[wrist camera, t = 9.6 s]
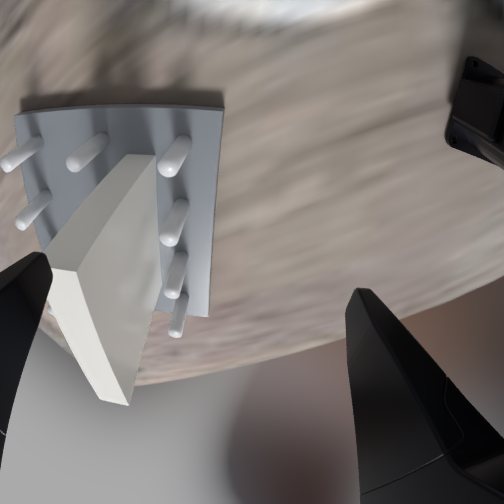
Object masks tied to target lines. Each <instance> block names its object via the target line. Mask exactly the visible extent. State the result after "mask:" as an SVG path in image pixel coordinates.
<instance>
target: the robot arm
mask: <svg viewBox="0 0 504 504" xmlns="http://www.w3.org/2000/svg"><path fill="white" fill-rule="evenodd" d="M473 61H474V66H473V65H472V62H473ZM453 137H454V141H453V142H452V138H453ZM446 143H447V144H448V145H449V146H451V147H453V148H455V149H458V150H461V151H463V152H466V153H468V154H471V155H473V156H476V157H478V158H481V159H483V160H485V161H488V162H490V163H492V164H495V165H497V166H499V167H500V168H502V169H503V170H504V74H503V73H501V72H500V71H498V70H497V69H495V68H494V67H492V66H490V65H489V64H487V63H486V62H484V61H482V60H480V59H479V58H477V57H474V56H468V57H467V59H466V62H465V67H464V71H463V76H462V80H461V82H460V86H459V90H458V94H457V98H456V102H455V105H454V109H453V113H452V118H451V121H450V125H449V128H448V131H447V134H446ZM52 281H53V272H52V269H51V267H50V264H49V261H48V258H47V256H46V254H45V253H42V252H32V253H30V254H29V255H27V256H25V257H24V258H22V259H21V260H19V261H17V262H16V263H14V264H13V265H11V266H9V267H8V268H6V269H5V270H3V271H2V272H0V468H1V461H2V455H3V449H4V443H5V438H6V433H7V428H8V423H9V419H10V415H11V411H12V406H13V403H14V399H15V395H16V392H17V388H18V385H19V381H20V378H21V375H22V371H23V368H24V365H25V362H26V359H27V356H28V353H29V350H30V347H31V344H32V341H33V339H34V336H35V333H36V331H37V328H38V326H39V323H40V320H41V316H42V313H43V310H44V306H45V303H46V300H47V297H48V294H49V290H50V287H51V284H52ZM345 321H346V346H347V366H348V374H349V382H350V389H351V398H352V406H353V415H354V424H355V434H356V444H357V457H358V469H359V485H360V494H361V495H360V504H504V438H503V437H502V436H500V434H499V433H498V432H497V431H496V430H495V429H494V428H493V427H492V426H491V425H490V423H489V422H488V421H487V420H486V419H485V418H484V417H483V416H482V415H481V414H480V413H479V412H478V411H477V410H476V408H475V407H474V406H473V405H472V404H471V403H470V402H469V401H468V400H467V399H466V397H465V396H464V395H463V394H462V393H461V392H460V390H459V389H458V388H457V387H456V386H455V384H454V383H453V382H452V381H451V380H450V378H449V377H446V374H445V373H444V371H443V370H442V369H441V368H440V367H439V365H438V364H437V363H436V362H435V361H434V359H433V358H432V357H431V356H430V355H429V354H428V352H427V351H426V350H425V349H424V348H423V347H422V346H421V344H420V343H419V342H418V341H417V340H416V339H415V338H414V336H413V335H412V334H411V333H410V332H409V331H408V330H407V329H406V327H405V326H404V325H403V324H402V323H401V322H400V321H399V320H398V318H397V317H396V316H395V315H394V314H393V313H392V312H391V311H390V310H389V309H388V307H387V306H386V305H385V304H384V303H383V302H382V301H381V300H380V299H379V298H378V297H377V295H376V294H375V293H374V292H373V291H372V290H371V289H368V288H356V289H355V290H354V292H353V294H352V296H351V299H350V301H349V303H348V305H347V308H346V312H345Z"/></svg>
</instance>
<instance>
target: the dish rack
mask: <svg viewBox="0 0 504 504" xmlns="http://www.w3.org/2000/svg"><path fill="white" fill-rule="evenodd" d="M224 109H225V108H219V107H207V106H192V105H171V104H105V105H84V106H70V107H58V108H48V109H40V110H31V111H24V112H21V113H19V114H17V115H15V116H14V123H15V131H16V139H17V146H18V147H17V148H15V149H14V150H12V151H11V152H9V153H8V154H6V155H5V156H4V157H2V158H1V161H0V164H1V167H2V169H3V170H4V171H5V172H10V171H11V170H13V169H14V168H15V167H16V166H18V165H19V164H20V165H21V170H22V175H23V180H24V185H25V190H26V194H27V199H28V203H29V204H28V205H27V207H26V208H25V209H24V210H23V211H22V212H21V213H20V214H19V215H18V216H17V217H16V218H15V225H16V226H17V228H18V229H20V230H25V229H26V228H27V227H28V226H29V224H30V223H31V222H32V221H33V223H34V226H35V230H36V233H37V237H38V240H39V244H40V247H41V250H42V253H43V252H44V251H45V249H46V248H47V246H48V245H49V244H50V242H51V241H52V240H53V238H54V237H55V236H56V235H57V233H58V232H59V231H60V229H61V228H62V227H63V226H64V224H65V223H66V222H67V221H68V219H69V218H70V217H71V216H72V214H73V213H74V212H75V211H76V210H77V208H78V207H79V206H80V205H81V204H82V202H83V201H84V200H85V199H86V198H87V197H88V196H89V194H90V193H91V192H92V191H93V190H94V189H95V188H96V186H97V185H98V184H99V183H100V182H101V181H102V180H103V179H104V178H105V177H106V175H107V174H108V173H109V172H110V171H111V170H112V169H113V168H114V167H115V166H116V165H117V164H118V163H119V162H120V161H121V160H122V159H123V158H124V157H125V156H126V155H127V154H139V155H156V191H157V217H158V236H159V251H160V265H161V277H162V286H161V289H160V293H159V296H158V299H157V303H156V306H155V309H154V310H155V311H162V312H169V313H172V317H171V321H170V325H169V329H168V334H169V335H170V336H172V337H175V338H178V337H181V336H182V332H183V327H184V322H185V317H186V315H193V316H202V317H208V314H209V303H210V283H211V266H212V249H213V234H214V220H215V207H216V194H217V182H218V170H219V159H220V148H221V138H222V128H223V118H224ZM47 310H48V312H49V313H50V314H51V315H54V313H53V311H52V309H51V306H50V304H49V306H48V308H47ZM54 316H55V315H54Z"/></svg>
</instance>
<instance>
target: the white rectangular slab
mask: <svg viewBox="0 0 504 504" xmlns="http://www.w3.org/2000/svg"><path fill="white" fill-rule="evenodd" d="M43 253H45V254H46V256H47V258H48V261H49V264H50V267H51V269H52V272H53V281H52V284H51V287H50V290H49V294H48V297H47V299H48V302H49V304H50V306H51V309H52V311H53V313H54V315H55V317H56V320H57V322H58V324H59V326H60V328H61V330H62V332H63V334H64V336H65V338H66V340H67V342H68V344H69V346H70V348H71V350H72V352H73V354H74V356H75V357H76V359H77V361H78V363H79V365H80V366H81V368H82V370H83V372H84V374H85V375H86V377H87V379H88V381H89V382H90V383H91V385H92V387H93V389H94V391H95V392H96V394H97V395H98V397H99V399H101V400H105V401H109V402H113V403H118V404H122V405H127V406H129V404H130V400H131V396H132V392H133V388H134V383H135V379H136V375H137V371H138V367H139V364H140V360H141V356H142V352H143V348H144V345H145V341H146V337H147V334H148V330H149V327H150V323H151V320H152V316H153V313H154V309H155V306H156V303H157V299H158V296H159V293H160V289H161V286H162V277H161V265H160V251H159V236H158V217H157V191H156V155H139V154H127V155H126V156H125V157H124V158H123V159H122V160H121V161H120V162H119V163H118V164H117V165H116V166H115V167H114V168H113V169H112V170H111V171H110V172H109V173H108V174H107V175H106V177H105V178H104V179H103V180H102V181H101V182H100V183H99V184H98V185H97V186H96V188H95V189H94V190H93V191H92V192H91V193H90V194H89V196H88V197H87V198H86V199H85V200H84V201H83V202H82V204H81V205H80V206H79V207H78V208H77V210H76V211H75V212H74V213H73V214H72V216H71V217H70V218H69V219H68V221H67V222H66V223H65V224H64V226H63V227H62V228H61V229H60V231H59V232H58V233H57V235H56V236H55V237H54V238H53V240H52V241H51V242H50V244H49V245H48V246H47V248H46V249H45V251H44V252H43Z"/></svg>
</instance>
